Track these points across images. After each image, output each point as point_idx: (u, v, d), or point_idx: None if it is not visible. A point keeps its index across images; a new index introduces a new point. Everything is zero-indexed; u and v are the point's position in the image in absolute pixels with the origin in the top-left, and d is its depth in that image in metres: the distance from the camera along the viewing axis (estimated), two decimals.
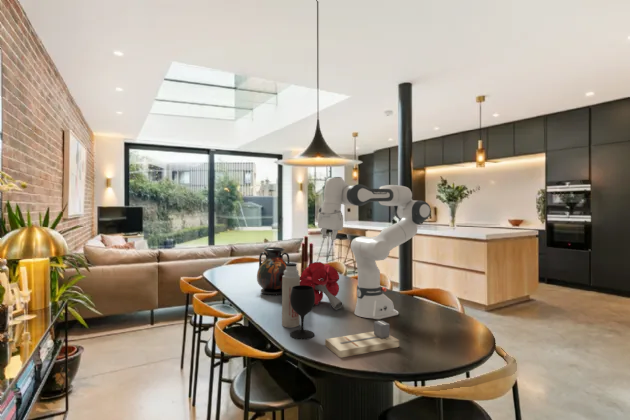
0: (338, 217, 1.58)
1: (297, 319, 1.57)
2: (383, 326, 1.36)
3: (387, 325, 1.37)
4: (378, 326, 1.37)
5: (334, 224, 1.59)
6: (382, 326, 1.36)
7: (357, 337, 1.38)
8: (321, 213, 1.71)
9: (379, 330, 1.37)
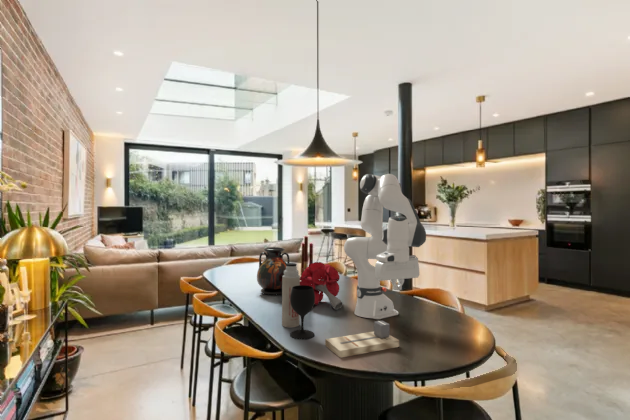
0: None
1: (297, 319, 1.57)
2: (383, 326, 1.36)
3: (387, 325, 1.37)
4: (378, 326, 1.37)
5: (416, 272, 1.43)
6: (382, 326, 1.36)
7: (357, 337, 1.38)
8: (391, 262, 1.37)
9: (379, 330, 1.37)
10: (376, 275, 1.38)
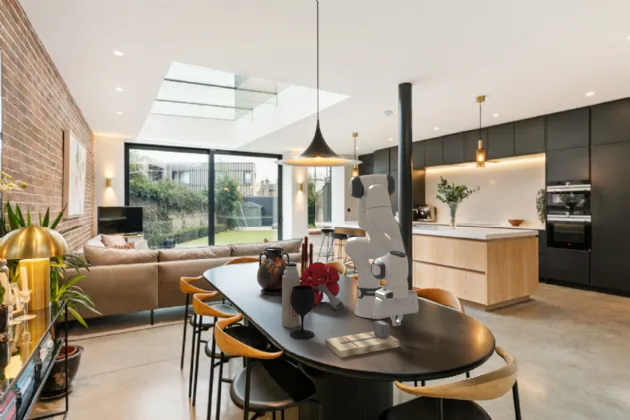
0: None
1: (297, 319, 1.57)
2: (383, 326, 1.36)
3: (387, 325, 1.37)
4: (378, 326, 1.37)
5: (415, 307, 1.43)
6: (382, 326, 1.36)
7: (357, 337, 1.38)
8: (390, 299, 1.37)
9: (379, 330, 1.37)
10: (375, 311, 1.38)
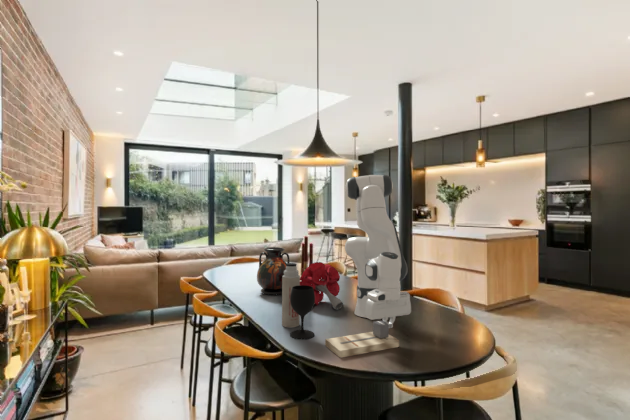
0: None
1: (297, 319, 1.57)
2: (382, 326, 1.36)
3: (386, 325, 1.37)
4: (377, 326, 1.37)
5: (407, 309, 1.42)
6: (381, 326, 1.36)
7: (357, 337, 1.38)
8: (382, 301, 1.36)
9: (378, 330, 1.37)
10: (367, 314, 1.36)
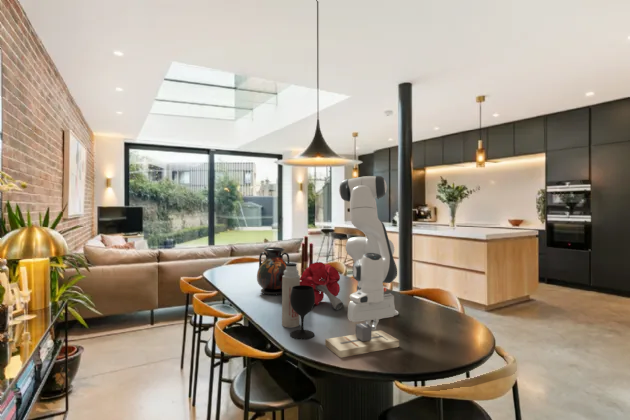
0: None
1: (297, 319, 1.57)
2: (365, 329, 1.33)
3: (369, 328, 1.34)
4: (360, 329, 1.34)
5: (391, 311, 1.39)
6: (364, 329, 1.33)
7: None
8: (365, 303, 1.32)
9: (361, 333, 1.33)
10: (349, 316, 1.33)
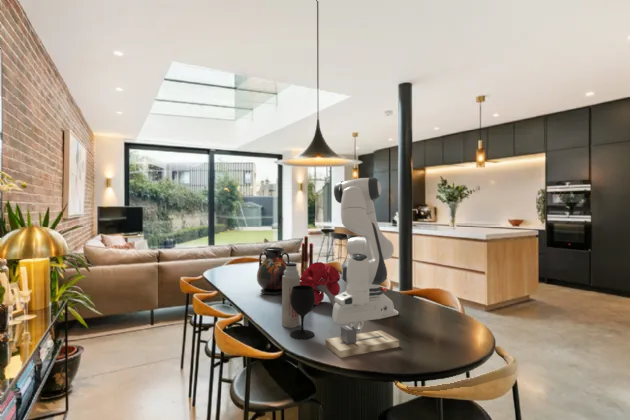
0: None
1: (297, 319, 1.57)
2: (349, 331, 1.30)
3: (354, 330, 1.31)
4: (344, 331, 1.31)
5: (377, 313, 1.36)
6: (348, 331, 1.30)
7: (357, 337, 1.38)
8: (349, 305, 1.30)
9: (345, 335, 1.31)
10: (333, 318, 1.30)
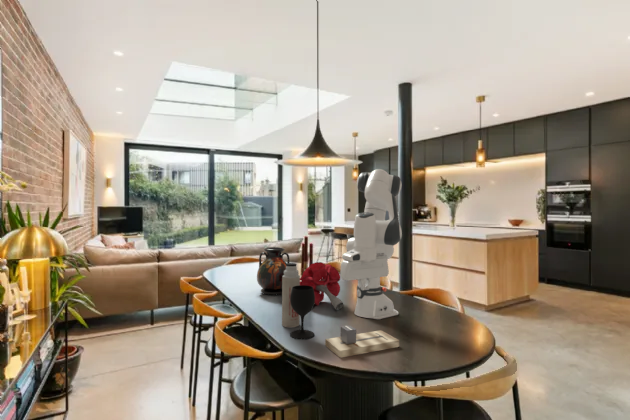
0: None
1: (297, 319, 1.57)
2: (349, 331, 1.30)
3: (354, 330, 1.31)
4: (344, 331, 1.31)
5: (384, 270, 1.37)
6: (348, 331, 1.30)
7: (357, 337, 1.38)
8: (357, 261, 1.31)
9: (345, 335, 1.31)
10: (341, 275, 1.32)
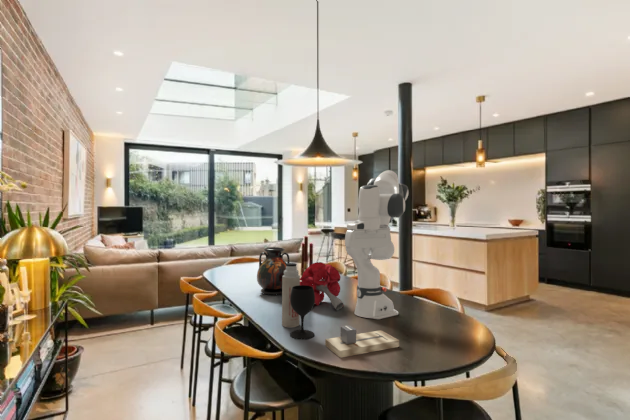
0: None
1: (297, 319, 1.57)
2: (349, 331, 1.30)
3: (354, 330, 1.31)
4: (344, 331, 1.31)
5: (387, 241, 1.42)
6: (348, 331, 1.30)
7: (357, 337, 1.38)
8: (361, 230, 1.36)
9: (345, 335, 1.31)
10: (346, 243, 1.37)
